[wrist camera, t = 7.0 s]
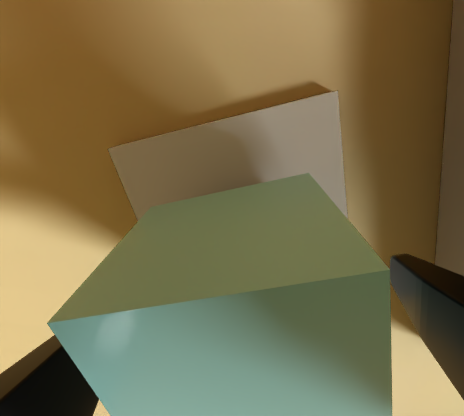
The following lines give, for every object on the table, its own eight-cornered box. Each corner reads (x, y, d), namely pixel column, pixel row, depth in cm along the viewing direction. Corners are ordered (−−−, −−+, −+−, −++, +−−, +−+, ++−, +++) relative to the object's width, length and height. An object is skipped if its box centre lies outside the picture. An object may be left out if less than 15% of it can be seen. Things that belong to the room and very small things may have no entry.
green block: (315, 274, 12) (393, 473, 6) (202, 293, 13) (158, 485, 6) (298, 160, 10) (390, 270, 4) (165, 190, 11) (47, 322, 4)
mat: (350, 297, 13) (354, 305, 13) (185, 320, 15) (183, 329, 14) (332, 91, 10) (337, 90, 9) (114, 146, 11) (107, 148, 10)
